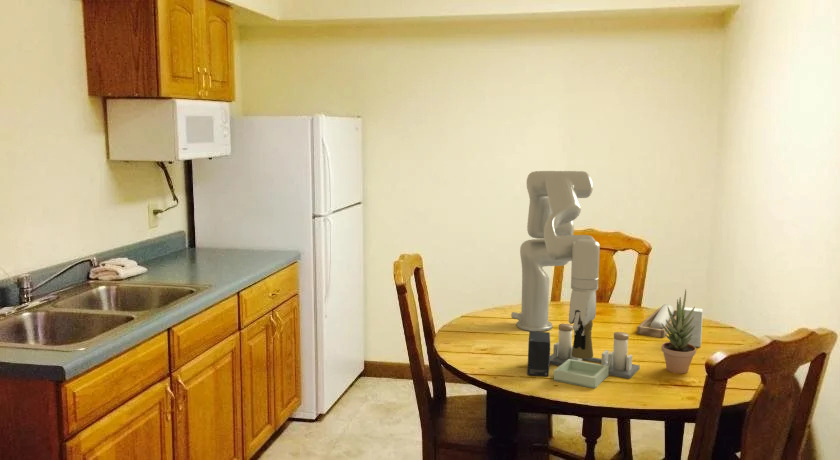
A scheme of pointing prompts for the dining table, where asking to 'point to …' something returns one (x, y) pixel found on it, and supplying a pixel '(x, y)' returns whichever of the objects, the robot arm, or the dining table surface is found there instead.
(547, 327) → the robot arm
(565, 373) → the tray
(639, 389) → the dining table surface
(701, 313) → the skincare box
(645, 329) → the tube rest
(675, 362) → the potted plant
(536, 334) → the small box
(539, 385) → the dining table surface
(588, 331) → the olive waisted cylinder
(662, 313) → the tube
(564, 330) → the fuse block
